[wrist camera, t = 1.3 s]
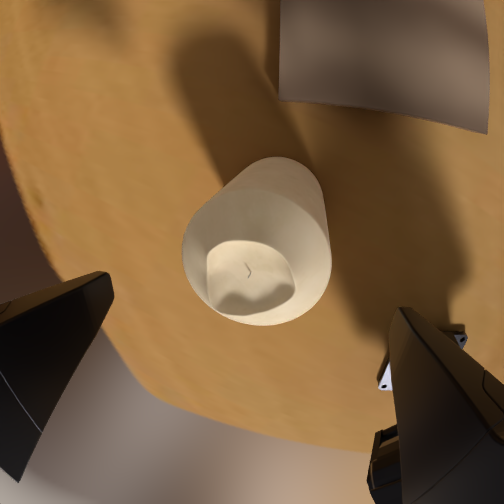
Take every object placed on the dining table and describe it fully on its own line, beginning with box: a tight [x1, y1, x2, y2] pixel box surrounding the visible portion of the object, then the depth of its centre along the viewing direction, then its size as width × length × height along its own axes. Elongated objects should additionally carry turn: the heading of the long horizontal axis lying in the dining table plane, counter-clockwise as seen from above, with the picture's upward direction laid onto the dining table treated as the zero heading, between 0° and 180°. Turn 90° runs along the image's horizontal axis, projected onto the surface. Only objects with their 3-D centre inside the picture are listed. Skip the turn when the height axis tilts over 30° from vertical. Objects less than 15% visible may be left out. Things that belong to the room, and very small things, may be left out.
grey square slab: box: [279, 0, 490, 135], centre depth 12 cm, size 12×12×2 cm
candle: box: [182, 157, 332, 325], centre depth 14 cm, size 6×6×10 cm
